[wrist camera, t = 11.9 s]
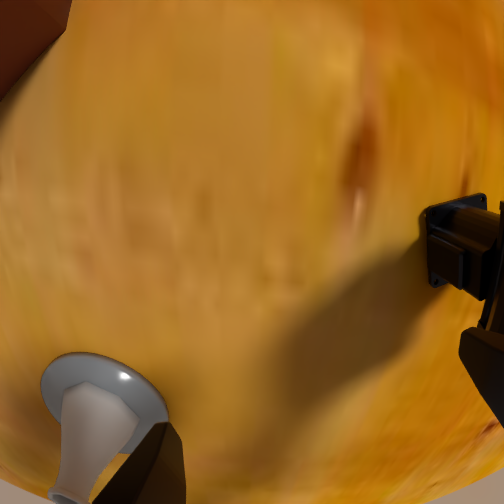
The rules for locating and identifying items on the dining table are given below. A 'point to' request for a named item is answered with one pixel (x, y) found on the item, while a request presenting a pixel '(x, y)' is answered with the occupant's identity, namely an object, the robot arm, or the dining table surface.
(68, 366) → the slate coaster
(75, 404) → the flask
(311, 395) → the dining table surface
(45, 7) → the bucket
